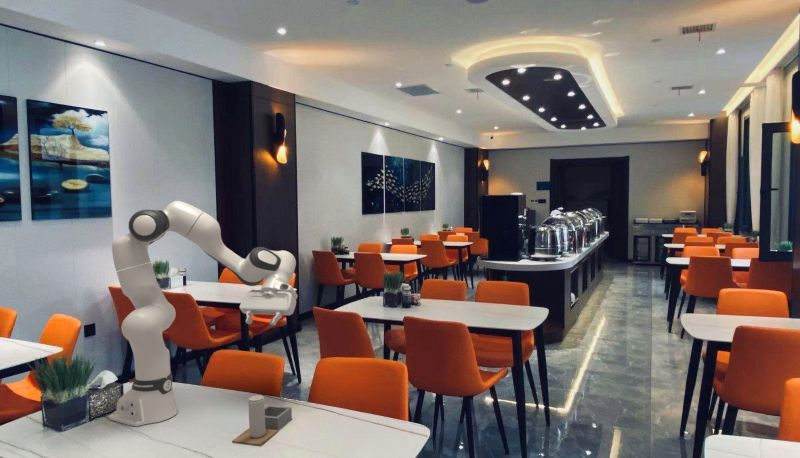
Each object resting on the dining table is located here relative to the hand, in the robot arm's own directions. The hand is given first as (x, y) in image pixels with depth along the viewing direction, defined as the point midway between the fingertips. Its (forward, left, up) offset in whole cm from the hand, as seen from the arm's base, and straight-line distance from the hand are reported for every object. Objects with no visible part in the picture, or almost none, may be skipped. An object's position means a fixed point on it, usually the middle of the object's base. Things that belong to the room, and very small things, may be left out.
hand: (260, 323), depth 184 cm
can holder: (+8, -7, -31) cm, 33 cm away
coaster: (+8, -18, -31) cm, 37 cm away
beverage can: (+9, -18, -31) cm, 37 cm away
